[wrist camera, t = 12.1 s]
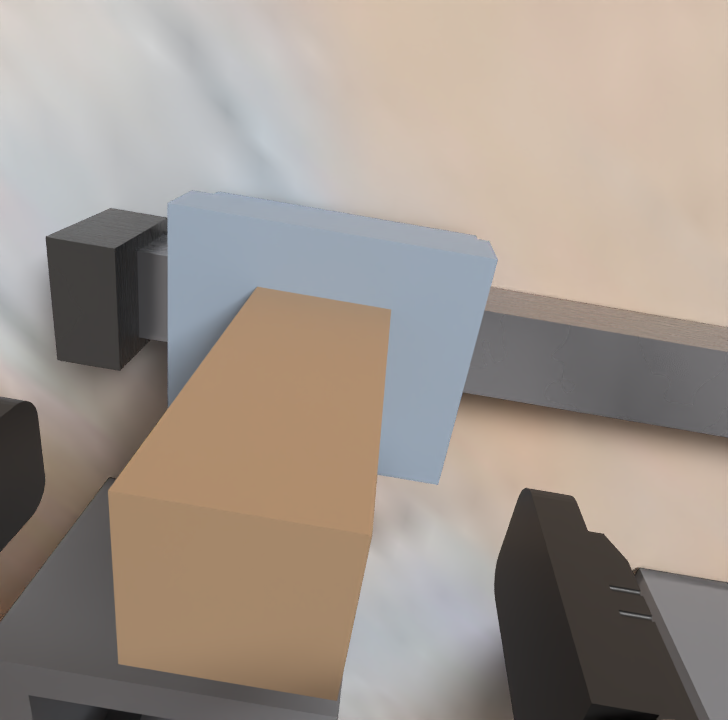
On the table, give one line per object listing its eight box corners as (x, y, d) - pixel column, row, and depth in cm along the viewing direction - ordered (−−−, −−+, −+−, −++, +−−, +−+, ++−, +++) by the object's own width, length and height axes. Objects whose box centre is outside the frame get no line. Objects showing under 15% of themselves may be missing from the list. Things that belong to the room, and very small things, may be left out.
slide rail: (958, 456, 18) (1065, 531, 15) (115, 313, 17) (57, 360, 15) (1028, 364, 16) (1161, 427, 13) (110, 208, 16) (46, 236, 13)
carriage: (433, 411, 18) (457, 786, 8) (211, 373, 18) (-13, 707, 8) (479, 220, 15) (591, 457, 6) (218, 176, 15) (-97, 340, 6)
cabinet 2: (328, 681, 24) (300, 890, 18) (118, 646, 24) (17, 843, 18) (360, 520, 20) (337, 717, 14) (108, 477, 20) (-26, 656, 14)
